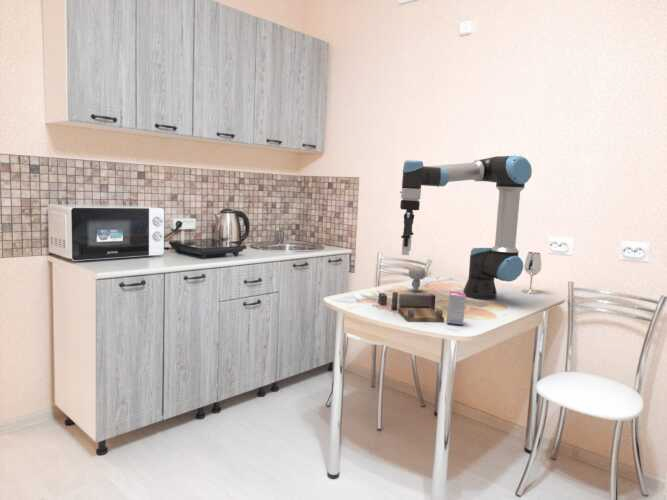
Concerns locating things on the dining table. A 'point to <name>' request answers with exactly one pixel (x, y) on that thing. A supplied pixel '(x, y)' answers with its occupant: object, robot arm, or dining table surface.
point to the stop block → (382, 299)
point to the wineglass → (532, 268)
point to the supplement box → (456, 308)
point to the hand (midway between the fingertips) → (406, 252)
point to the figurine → (416, 276)
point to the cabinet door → (417, 312)
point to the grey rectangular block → (416, 301)
